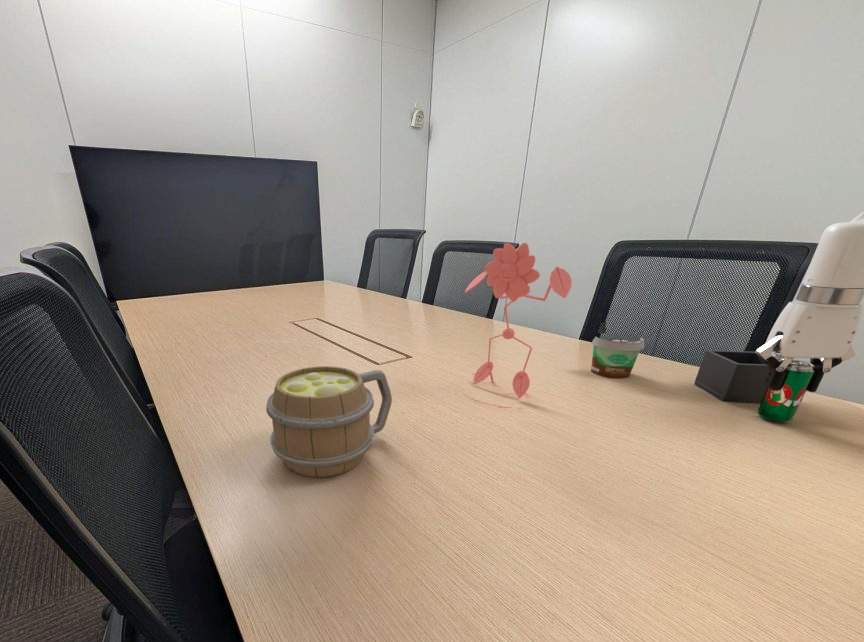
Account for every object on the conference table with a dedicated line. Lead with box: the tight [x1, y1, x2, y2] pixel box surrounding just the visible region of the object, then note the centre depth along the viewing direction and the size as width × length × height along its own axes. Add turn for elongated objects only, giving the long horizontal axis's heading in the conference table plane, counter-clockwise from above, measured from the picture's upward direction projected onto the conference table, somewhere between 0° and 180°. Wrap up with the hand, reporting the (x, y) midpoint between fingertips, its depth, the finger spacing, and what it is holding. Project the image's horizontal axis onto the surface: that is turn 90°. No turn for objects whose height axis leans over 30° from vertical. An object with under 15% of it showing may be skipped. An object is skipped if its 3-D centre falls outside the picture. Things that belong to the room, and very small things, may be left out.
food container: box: [590, 336, 645, 379], centre depth 100 cm, size 12×6×10 cm, turn 81°
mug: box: [265, 365, 393, 478], centre depth 68 cm, size 19×25×15 cm
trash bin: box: [694, 349, 781, 404], centre depth 87 cm, size 11×11×9 cm
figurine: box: [463, 242, 572, 410], centre depth 86 cm, size 15×26×35 cm, turn 36°
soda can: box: [756, 359, 815, 423], centre depth 75 cm, size 5×5×12 cm
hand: (788, 387), depth 74 cm, fingers closed on soda can, 5 cm apart
